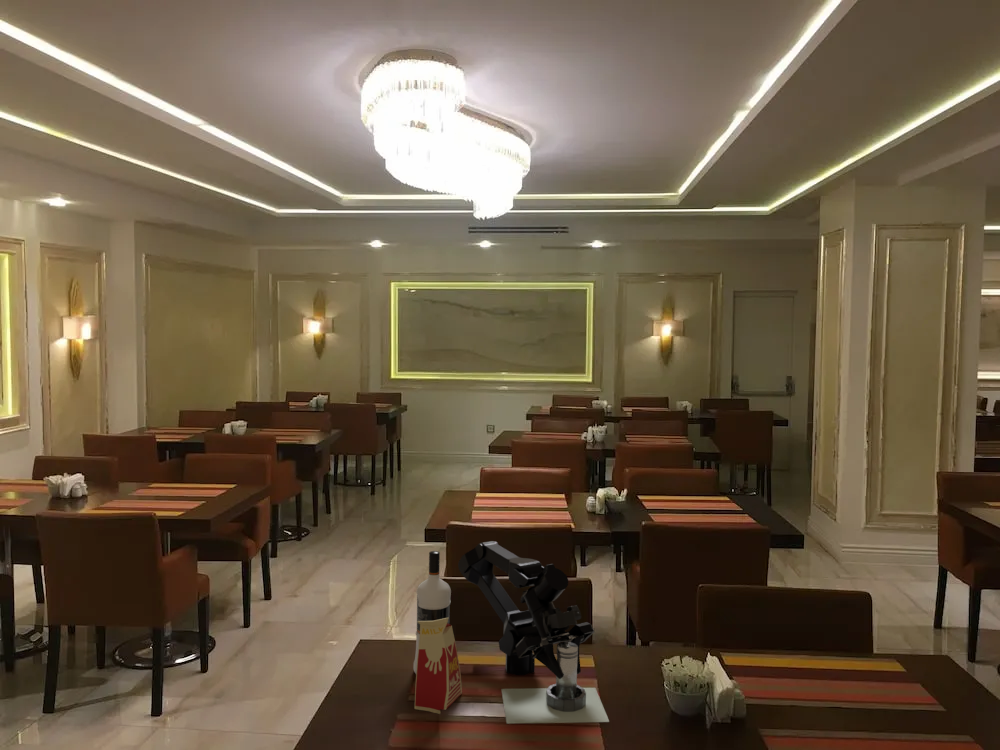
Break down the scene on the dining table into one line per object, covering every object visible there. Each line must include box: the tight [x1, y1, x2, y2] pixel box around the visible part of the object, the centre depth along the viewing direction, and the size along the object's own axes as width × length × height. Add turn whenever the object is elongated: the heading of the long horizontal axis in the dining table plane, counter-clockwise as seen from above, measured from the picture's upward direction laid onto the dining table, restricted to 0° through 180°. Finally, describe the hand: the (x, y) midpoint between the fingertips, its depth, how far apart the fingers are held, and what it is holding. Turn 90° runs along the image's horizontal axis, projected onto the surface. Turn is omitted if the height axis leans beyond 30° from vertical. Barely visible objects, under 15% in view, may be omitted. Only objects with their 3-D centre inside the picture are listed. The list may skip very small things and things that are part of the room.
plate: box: [500, 687, 610, 725], centre depth 179 cm, size 22×16×1 cm
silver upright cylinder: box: [555, 642, 578, 699], centre depth 180 cm, size 5×5×12 cm
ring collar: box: [546, 683, 586, 712], centre depth 180 cm, size 9×9×2 cm
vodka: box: [412, 550, 452, 674], centre depth 196 cm, size 9×9×30 cm
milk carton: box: [414, 616, 463, 715], centre depth 181 cm, size 9×9×20 cm
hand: (570, 675), depth 179 cm, fingers closed on silver upright cylinder, 5 cm apart
